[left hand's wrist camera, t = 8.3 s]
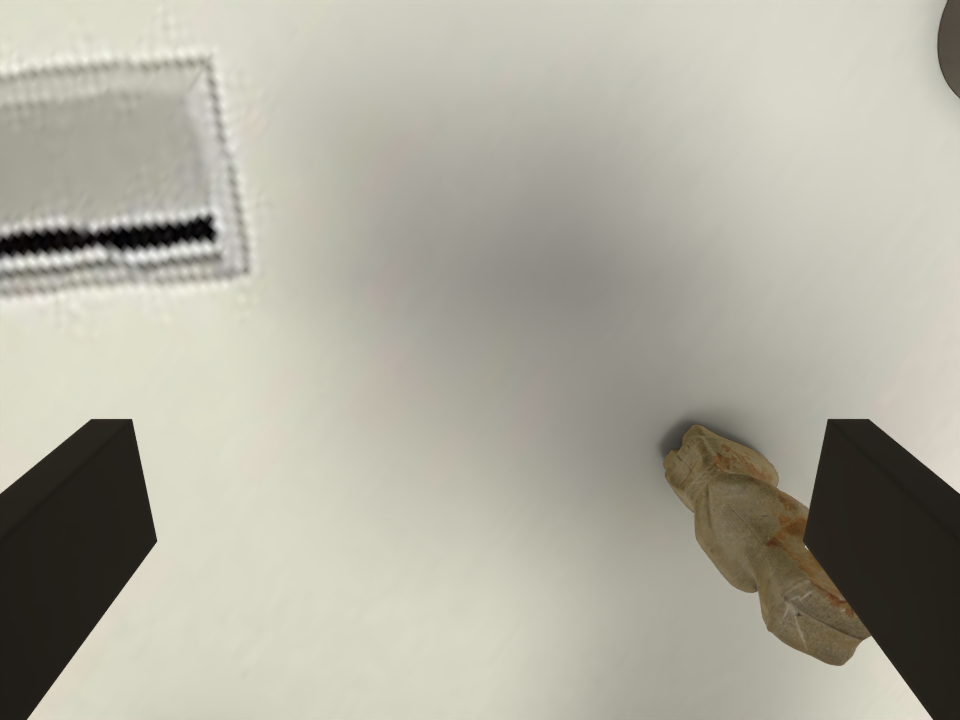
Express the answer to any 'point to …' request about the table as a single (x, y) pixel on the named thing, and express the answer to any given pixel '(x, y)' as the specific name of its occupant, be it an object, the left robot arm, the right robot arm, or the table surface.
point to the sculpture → (762, 543)
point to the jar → (950, 44)
